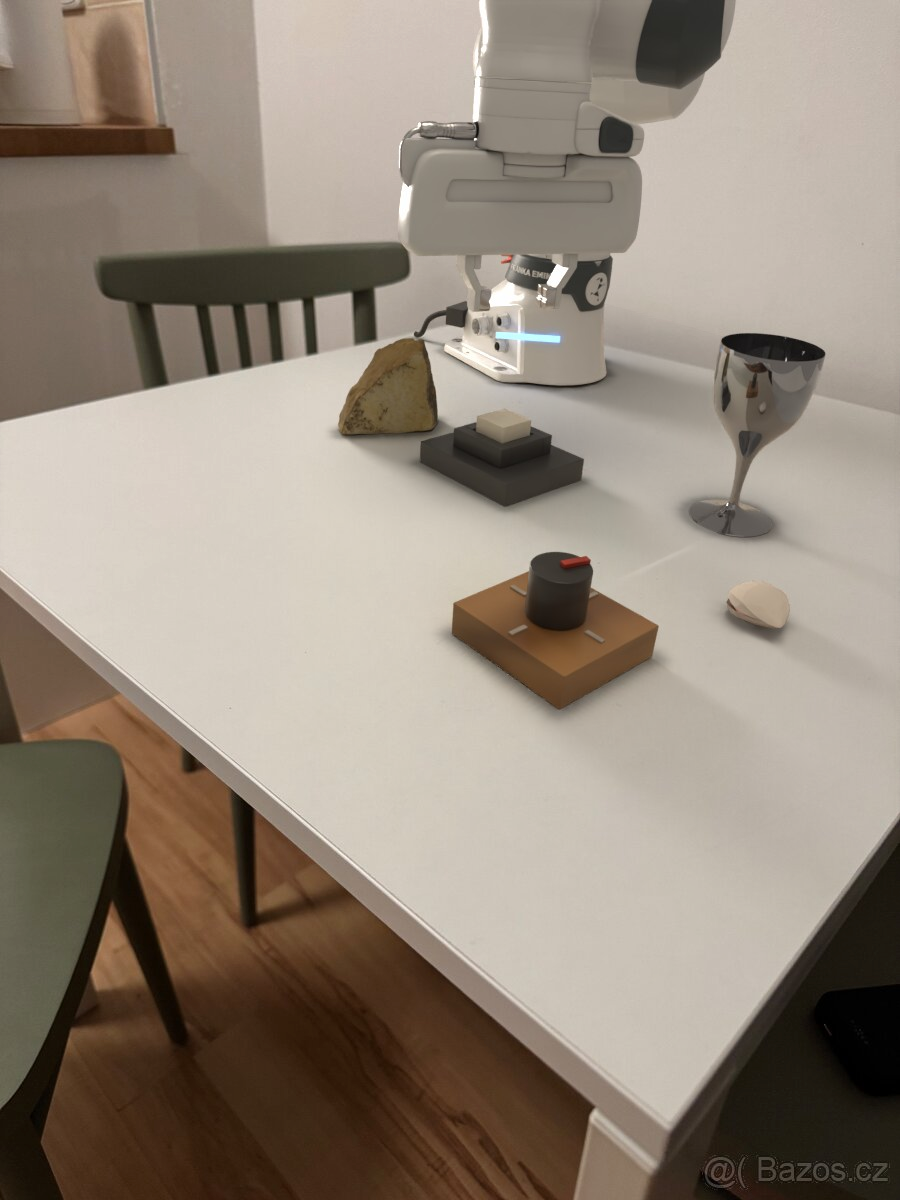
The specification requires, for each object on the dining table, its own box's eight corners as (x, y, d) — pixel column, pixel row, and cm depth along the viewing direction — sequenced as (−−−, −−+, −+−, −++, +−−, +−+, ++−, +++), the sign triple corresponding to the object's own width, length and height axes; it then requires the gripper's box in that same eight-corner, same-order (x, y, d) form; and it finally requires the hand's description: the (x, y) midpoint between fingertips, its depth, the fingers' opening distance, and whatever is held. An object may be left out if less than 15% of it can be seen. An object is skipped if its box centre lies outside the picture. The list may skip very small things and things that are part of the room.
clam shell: (769, 602, 62) (778, 573, 61) (803, 641, 58) (813, 610, 57) (715, 605, 61) (722, 575, 60) (745, 644, 57) (754, 613, 56)
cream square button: (475, 433, 78) (476, 415, 77) (503, 426, 80) (504, 408, 79) (501, 445, 76) (503, 427, 75) (529, 437, 78) (531, 419, 77)
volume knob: (543, 635, 52) (550, 583, 50) (513, 603, 56) (519, 552, 53) (597, 623, 54) (606, 572, 52) (566, 592, 57) (573, 543, 55)
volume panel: (451, 633, 57) (453, 600, 55) (543, 592, 62) (547, 560, 60) (559, 709, 50) (564, 674, 49) (652, 656, 55) (659, 623, 54)
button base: (419, 462, 81) (420, 422, 79) (494, 440, 87) (497, 403, 85) (505, 507, 74) (509, 464, 71) (581, 480, 79) (587, 440, 77)
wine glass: (666, 504, 76) (700, 335, 68) (737, 493, 78) (778, 330, 70) (720, 544, 69) (765, 364, 61) (796, 531, 72) (848, 357, 64)
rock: (321, 423, 82) (421, 420, 80) (325, 338, 83) (423, 333, 81) (354, 453, 93) (442, 451, 91) (356, 378, 94) (444, 374, 92)
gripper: (412, 122, 59) (408, 323, 66) (663, 131, 65) (634, 313, 73) (388, 117, 64) (386, 304, 71) (623, 125, 70) (599, 296, 78)
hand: (513, 309), depth 72 cm, fingers open, 5 cm apart
